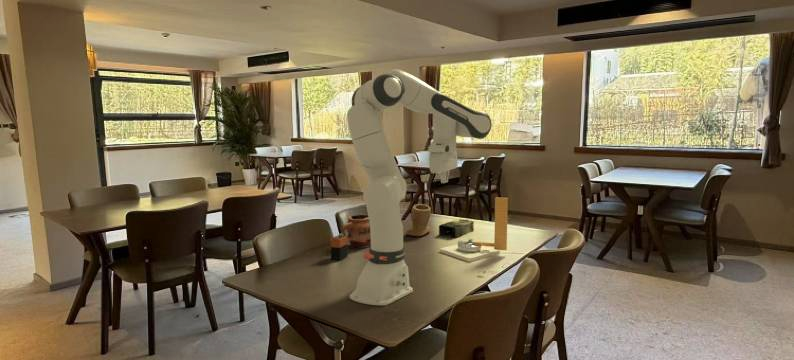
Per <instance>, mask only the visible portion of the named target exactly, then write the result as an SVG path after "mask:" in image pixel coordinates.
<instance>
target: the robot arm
mask: <svg viewBox="0 0 794 360" xmlns="http://www.w3.org/2000/svg"><path fill="white" fill-rule="evenodd" d="M396 104H399V105H401V106H403V107H405V108H406V109H408V110H409V111H412V112H416V113H419V114H429V115H430V114H432V129H433V136H432V142H431V144H430V145H429V146H428V147H427V151H428V153H429V155H428V156H429V157H428V161H429V172H430V173H431V174H439V177H440V183H441V184H445V183H448V182H449V175H450V171H451V170H454V169H458V162H459V161H458V151H457V137H458V138H459V137H460V138H461V137H462V138H473V139H478V140H482V139H485V138H486V137H487V136H488V135H489V134H490V132H491V129H492V120H491V116H490V114H489V113H487V112H486V111H483V110H474V109H471V108H470V107H468V106H466V105H464V104H462V103H461V102H458V101H457V100H455V99H453V98H451V97H449V96H447V95H445V94H443V93H442V92H440V91H439V90H437V89H435V88H434V87H433V86H431V85H429V84H428V83H426V82H425V81H423V80H421V79H420V78H418V77H416V76H414V75H412V74H411V73H408V72H406V71H404V70H401V69H398V68H397V69H395V68H394V69H391V70H389V72H387V73H386V74H385V73H384V74H380V75H378V76H377V77H375V78H373V79H370V80H368V81H366V82H365V83H363V84H362V85H361V86H359V87H358V88H357V89H356V90H354V92H353V94H352V96H351V107H350V108H348V110H347V113H346V121H347V126H348V130H349V134H350V139H351V141H352V144H353V148H354V151H355V153H356V157H357V160H358V162H359V164H360V166H361V167H362V168H363V170H364V171H365V173H366V175H367V177H368V179H369V180H370V181H369V182H368V183H367V185H366V186H365V188H364V190H363V195H362V196H363V197H362V198H363V201H364V204H365V206H366V211H367V215H368V216H369V221H370V235H371V246H369V250H368V252H365V253H364V255H363V259H365V260H367V263H366V264H365V266H364V267H363V268H362V271H361V272H360V274H359V276H358V278H357V281H356V282H357V283H356V288H355V289H354V290H353V291H352V292H351V293H350V294H349V299H350V300H352V301H354V302H357V303H360V304H365V305H371V306H389V305H390V304H392V303H394V302H396V301H398V300H399V299H402V298H403V297H405V296H408V295H409V294H412V293H414V290H413V287H412V286H410V276H409V266H408V265H407V264H406V261H405V256H406V251H405V247H404V224H403V222H402V217H401V211H400V210H401V209H400V202H401V201H402V200H403V199H404V198H405V196H406V194H407V182H406V180H405V178H404V177H403V174H402V172H401V171H400V168H399V166H398V164H397V162H396V160H395V158H394V156H393V154H392V151H391V148H390V145H389V142H388V140H387V137H386V133H385V130H384V127H383V125H382V122H381V113H382V112H384V111H386V110H388V109H390V108H391V107H393V106H395V105H396Z"/></svg>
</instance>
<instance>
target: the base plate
mask: <svg viewBox="0 0 794 360" xmlns="http://www.w3.org/2000/svg"><path fill="white" fill-rule="evenodd" d="M500 251H501V250H494V247H490V246H481V251H479V252H462V251H459V250H458V243H457V244H453V245H449V246H444V247H441V248H439V253H442V254H445V255H447V256H451V257H454V258H455V259H456V258H457V259H459V260H462V261H464V262H468V263H472V262H475V261H479V260H482V259H487V258H491V257H493V256H497V255H500V254H501V253H500Z"/></svg>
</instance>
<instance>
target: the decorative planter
mask: <svg viewBox="0 0 794 360" xmlns="http://www.w3.org/2000/svg"><path fill="white" fill-rule="evenodd" d="M345 231H346V233H345ZM340 234H343V235H344V236H347V241H349V243H350V246H351V247H353V248H358V249H360V248H361V249H362V248H367V247H368V248H369V247H371V235H370V221H369V216H368V214H357V215H352V216H351V215H350V216H349V217H348V220H347V222H346V223H345V224H343V225H342V227H341V233H340ZM346 234H347V235H346Z"/></svg>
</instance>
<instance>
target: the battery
mask: <svg viewBox="0 0 794 360" xmlns="http://www.w3.org/2000/svg"><path fill="white" fill-rule="evenodd" d="M347 236H348V235H346V236H344V235H343V234H342V233H338V235H334V237H331V238H330V258H331V261H337V262H340V261H342V260H344V259H346V258H348V256H349V255H348V254H349V253H348V239H347Z"/></svg>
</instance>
